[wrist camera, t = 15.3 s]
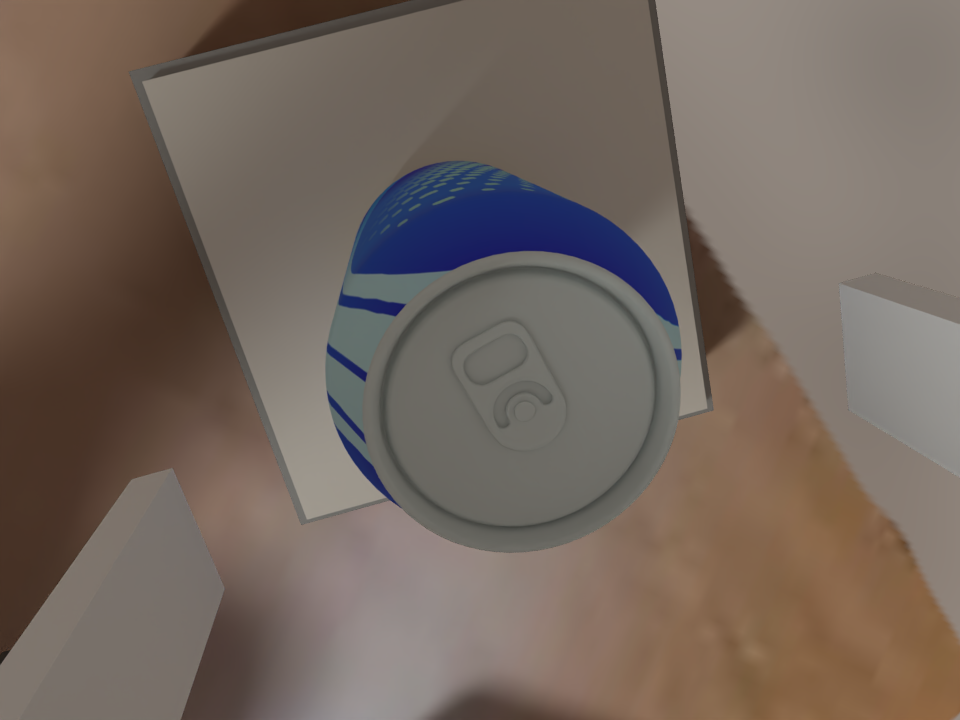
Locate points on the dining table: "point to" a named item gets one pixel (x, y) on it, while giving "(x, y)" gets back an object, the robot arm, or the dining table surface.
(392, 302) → the beer can
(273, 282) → the plinth
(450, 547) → the dining table surface
